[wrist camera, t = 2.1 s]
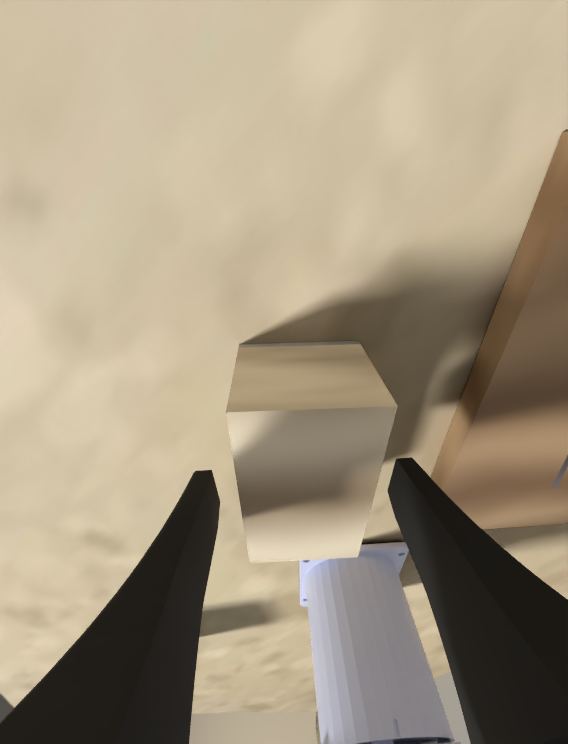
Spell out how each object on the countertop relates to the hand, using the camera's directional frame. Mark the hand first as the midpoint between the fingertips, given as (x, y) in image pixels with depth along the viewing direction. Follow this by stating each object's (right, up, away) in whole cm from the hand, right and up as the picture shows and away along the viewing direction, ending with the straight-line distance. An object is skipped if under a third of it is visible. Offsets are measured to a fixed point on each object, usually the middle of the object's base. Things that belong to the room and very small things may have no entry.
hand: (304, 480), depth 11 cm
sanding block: (0, +2, +3) cm, 4 cm away
